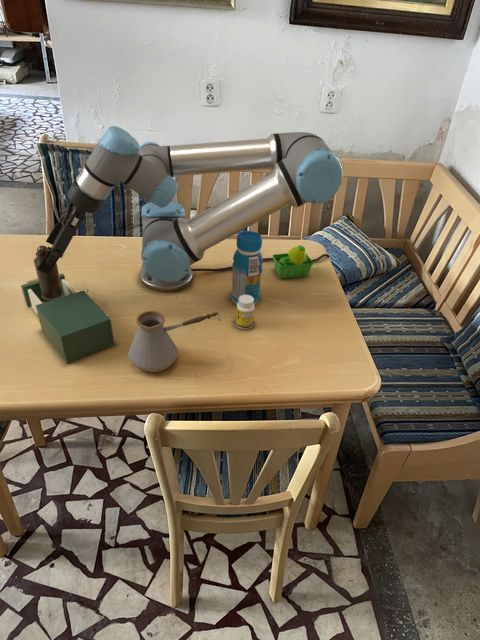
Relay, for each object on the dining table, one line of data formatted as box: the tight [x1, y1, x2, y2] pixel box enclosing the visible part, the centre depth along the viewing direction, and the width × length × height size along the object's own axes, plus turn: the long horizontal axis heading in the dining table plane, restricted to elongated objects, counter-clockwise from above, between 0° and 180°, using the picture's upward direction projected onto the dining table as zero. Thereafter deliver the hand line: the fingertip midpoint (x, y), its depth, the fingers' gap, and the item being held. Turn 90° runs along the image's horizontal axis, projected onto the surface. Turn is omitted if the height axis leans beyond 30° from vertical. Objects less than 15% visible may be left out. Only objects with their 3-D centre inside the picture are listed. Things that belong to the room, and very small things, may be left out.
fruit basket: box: [272, 244, 314, 279], centre depth 150 cm, size 11×9×11 cm
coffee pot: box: [127, 310, 221, 373], centre depth 113 cm, size 21×12×15 cm, turn 95°
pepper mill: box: [33, 244, 64, 303], centre depth 121 cm, size 5×5×18 cm
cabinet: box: [36, 290, 115, 364], centre depth 119 cm, size 15×12×8 cm
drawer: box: [20, 273, 78, 316], centre depth 126 cm, size 18×11×6 cm, turn 40°
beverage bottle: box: [230, 230, 264, 305], centre depth 134 cm, size 8×8×20 cm
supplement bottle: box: [235, 295, 256, 330], centre depth 129 cm, size 5×5×8 cm
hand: (47, 257), depth 120 cm, fingers open, 13 cm apart
